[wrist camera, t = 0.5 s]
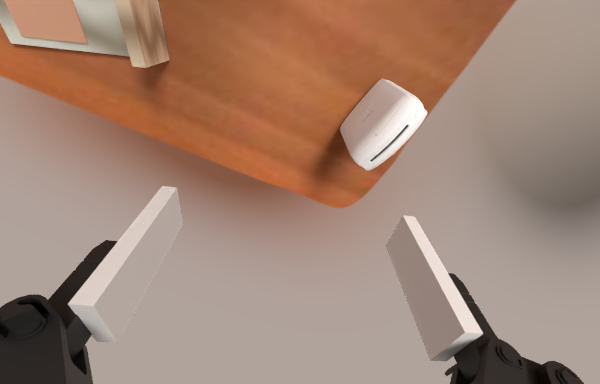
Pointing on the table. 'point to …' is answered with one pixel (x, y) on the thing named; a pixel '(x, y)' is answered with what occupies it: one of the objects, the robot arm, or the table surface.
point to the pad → (47, 19)
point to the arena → (108, 30)
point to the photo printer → (381, 123)
